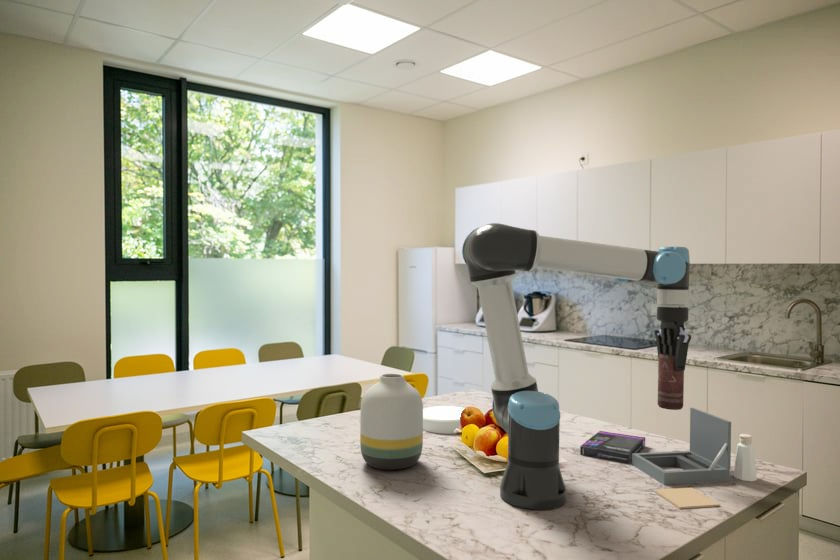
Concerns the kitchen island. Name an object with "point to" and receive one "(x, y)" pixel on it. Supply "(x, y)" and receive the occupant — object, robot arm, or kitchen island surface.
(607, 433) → the box
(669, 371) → the can
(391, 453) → the vase
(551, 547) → the kitchen island surface
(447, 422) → the container
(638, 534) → the kitchen island surface
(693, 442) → the case
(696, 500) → the mat
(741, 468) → the salt shaker
